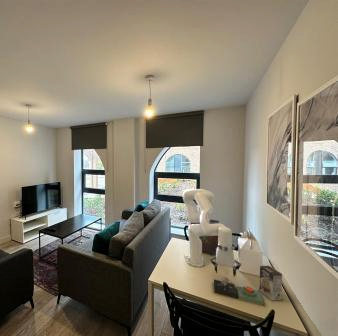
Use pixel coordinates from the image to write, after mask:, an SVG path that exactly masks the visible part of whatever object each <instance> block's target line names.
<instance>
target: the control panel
mask: <svg viewBox="0 0 338 336" xmlns="http://www.w3.org/2000/svg"><path fill="white" fill-rule="evenodd" d="M213 292H214V294H217V295H221V296H225V297H229V298H232V299H238V294H237V290H236V284H235V283H232V282H228V288H223V287H222V286H221V280H218V279H213Z"/></svg>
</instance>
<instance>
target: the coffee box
mask: <svg viewBox="0 0 338 336" xmlns="http://www.w3.org/2000/svg"><path fill="white" fill-rule="evenodd" d="M282 288H283V274H282V272H280V271H278V270H277V269H275V268H273V267H272V266H270V265H262V266H260V276H259V292H261V293H262V294H264V296H266V297H267V298H268V299H269V300H270V301H280V300H282V292H283V291H282Z"/></svg>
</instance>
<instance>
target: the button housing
mask: <svg viewBox="0 0 338 336" xmlns="http://www.w3.org/2000/svg"><path fill="white" fill-rule="evenodd" d="M245 287H246V286H240V285H235V289H236V292H237V299H238V300H239V301H244V302H248V303H251V304H252V303H253V304H256V305H260V306H264V302H265V301H264V299H263V297H262V295H261V293H260V292H261V291H260V290H257V289H254V288H253V293H249V292H247V291H245Z"/></svg>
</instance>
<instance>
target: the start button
mask: <svg viewBox="0 0 338 336" xmlns="http://www.w3.org/2000/svg"><path fill="white" fill-rule="evenodd" d="M244 287H245V291H247V292H249V293H253V289H254V288H253V287H251V286H250V285H246V286H244Z"/></svg>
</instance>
